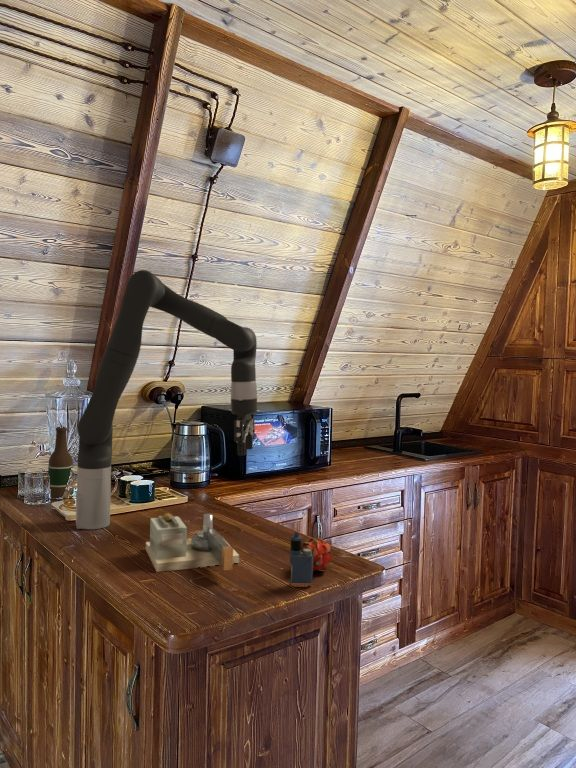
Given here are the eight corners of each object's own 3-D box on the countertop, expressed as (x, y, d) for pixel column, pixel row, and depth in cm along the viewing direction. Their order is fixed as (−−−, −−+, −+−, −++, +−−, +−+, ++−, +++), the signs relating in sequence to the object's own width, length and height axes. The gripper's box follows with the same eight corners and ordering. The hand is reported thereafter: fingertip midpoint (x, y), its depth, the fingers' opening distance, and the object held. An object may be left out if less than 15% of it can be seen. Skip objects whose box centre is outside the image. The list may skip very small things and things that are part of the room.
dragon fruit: (298, 585, 137) (318, 576, 148) (328, 568, 134) (346, 561, 145) (282, 550, 140) (303, 544, 150) (311, 534, 137) (330, 529, 148)
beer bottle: (57, 501, 194) (58, 429, 193) (42, 497, 199) (44, 426, 197) (77, 497, 201) (78, 427, 200) (62, 493, 205) (63, 424, 204)
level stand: (156, 572, 137) (158, 525, 137) (145, 549, 152) (146, 507, 151) (238, 563, 145) (240, 519, 144) (220, 543, 160) (222, 502, 159)
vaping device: (288, 583, 134) (290, 531, 133) (311, 583, 134) (313, 531, 133) (289, 587, 131) (291, 534, 130) (312, 587, 132) (315, 534, 131)
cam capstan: (187, 542, 152) (188, 511, 151) (217, 539, 155) (219, 509, 155) (210, 574, 131) (212, 538, 131) (245, 570, 134) (246, 535, 134)
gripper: (237, 393, 178) (239, 447, 179) (224, 399, 164) (225, 457, 165) (262, 394, 176) (263, 447, 178) (250, 399, 162) (251, 457, 164)
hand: (245, 452), depth 171 cm, fingers open, 8 cm apart
